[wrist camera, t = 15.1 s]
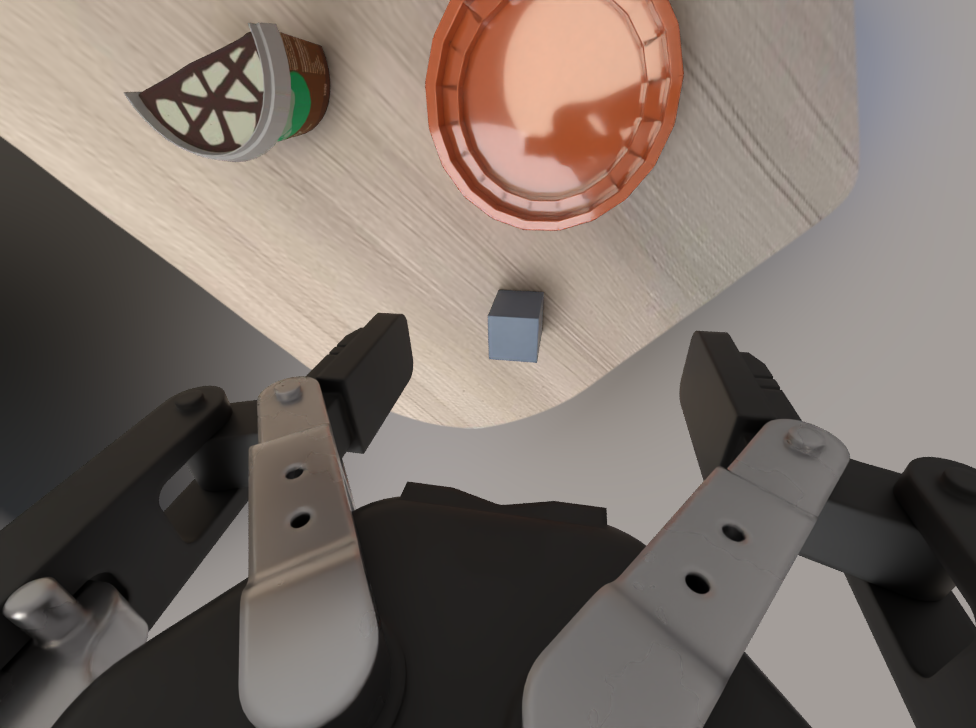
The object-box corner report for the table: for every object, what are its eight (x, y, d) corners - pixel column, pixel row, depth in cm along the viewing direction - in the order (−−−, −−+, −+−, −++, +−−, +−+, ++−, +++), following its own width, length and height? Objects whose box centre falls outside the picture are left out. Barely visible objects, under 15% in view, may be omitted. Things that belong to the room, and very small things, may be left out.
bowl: (697, -65, 27) (714, -87, 23) (647, 220, 36) (654, 233, 33) (431, -41, 30) (412, -59, 26) (449, 216, 39) (437, 228, 36)
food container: (260, 168, 40) (176, 188, 32) (221, 95, 37) (117, 95, 29) (370, 123, 36) (307, 131, 28) (336, 37, 33) (255, 18, 25)
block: (544, 291, 41) (538, 318, 36) (541, 332, 44) (536, 363, 39) (498, 289, 42) (487, 315, 37) (499, 329, 44) (488, 359, 39)
